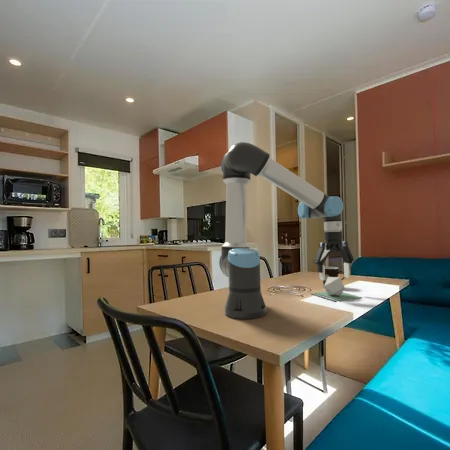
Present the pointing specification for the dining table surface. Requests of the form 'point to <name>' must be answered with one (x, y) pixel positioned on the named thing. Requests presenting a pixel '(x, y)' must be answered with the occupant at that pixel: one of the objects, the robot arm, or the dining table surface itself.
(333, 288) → the die
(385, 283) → the dining table surface
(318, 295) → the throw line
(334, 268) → the coffee mug
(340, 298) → the mat
